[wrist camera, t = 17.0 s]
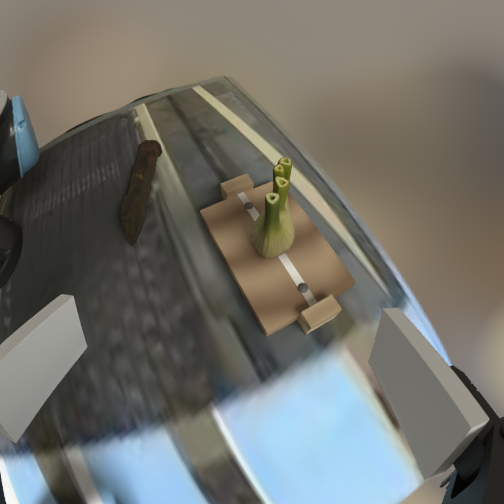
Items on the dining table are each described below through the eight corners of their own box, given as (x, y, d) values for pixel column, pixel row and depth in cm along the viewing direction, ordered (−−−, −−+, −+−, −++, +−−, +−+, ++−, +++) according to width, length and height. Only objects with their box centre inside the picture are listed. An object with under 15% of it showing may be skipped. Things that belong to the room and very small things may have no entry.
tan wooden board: (196, 209, 39) (193, 194, 36) (270, 179, 41) (271, 164, 39) (274, 351, 29) (277, 347, 26) (359, 301, 32) (368, 291, 29)
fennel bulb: (270, 272, 32) (277, 207, 21) (239, 246, 33) (233, 175, 23) (302, 241, 34) (320, 170, 23) (272, 218, 35) (278, 144, 25)
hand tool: (143, 156, 45) (136, 137, 41) (163, 154, 45) (158, 134, 41) (117, 248, 36) (103, 230, 32) (142, 247, 36) (129, 228, 32)
